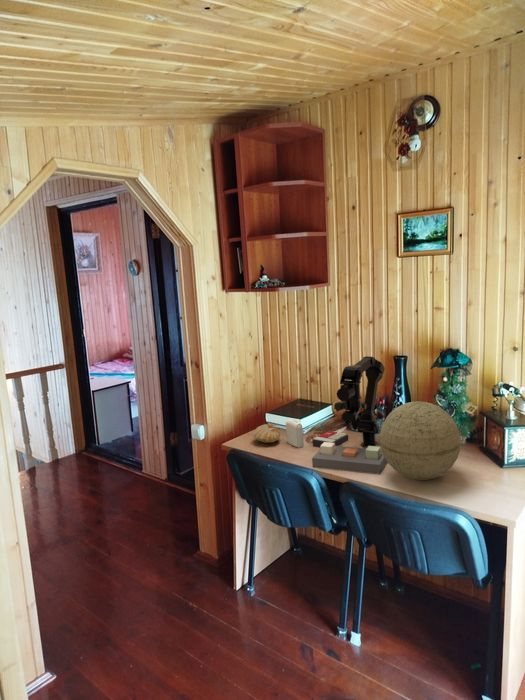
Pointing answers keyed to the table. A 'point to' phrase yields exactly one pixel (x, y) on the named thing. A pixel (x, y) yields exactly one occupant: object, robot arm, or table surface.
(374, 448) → the sage button
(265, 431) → the seashell
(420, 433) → the brown large sphere
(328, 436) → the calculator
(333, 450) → the cream button
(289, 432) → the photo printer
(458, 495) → the table surface
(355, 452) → the terracotta button
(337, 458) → the button panel
